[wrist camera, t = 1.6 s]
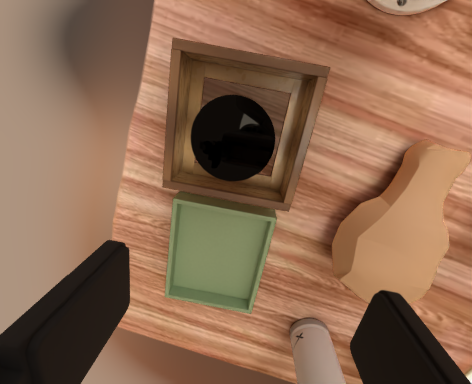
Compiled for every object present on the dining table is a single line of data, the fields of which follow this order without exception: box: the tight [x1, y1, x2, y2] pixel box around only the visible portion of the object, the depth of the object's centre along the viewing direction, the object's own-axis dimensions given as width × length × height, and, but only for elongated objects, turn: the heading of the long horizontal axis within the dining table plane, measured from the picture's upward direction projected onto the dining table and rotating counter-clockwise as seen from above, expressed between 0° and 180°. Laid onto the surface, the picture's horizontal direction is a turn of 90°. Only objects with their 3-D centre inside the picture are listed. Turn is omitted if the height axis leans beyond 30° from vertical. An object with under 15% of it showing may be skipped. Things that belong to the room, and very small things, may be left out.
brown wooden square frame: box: [163, 38, 330, 212], centre depth 25 cm, size 15×15×5 cm
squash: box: [332, 139, 471, 304], centre depth 26 cm, size 11×20×9 cm, turn 162°
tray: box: [165, 191, 277, 314], centre depth 32 cm, size 16×13×3 cm
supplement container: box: [191, 95, 275, 181], centre depth 23 cm, size 7×7×10 cm
